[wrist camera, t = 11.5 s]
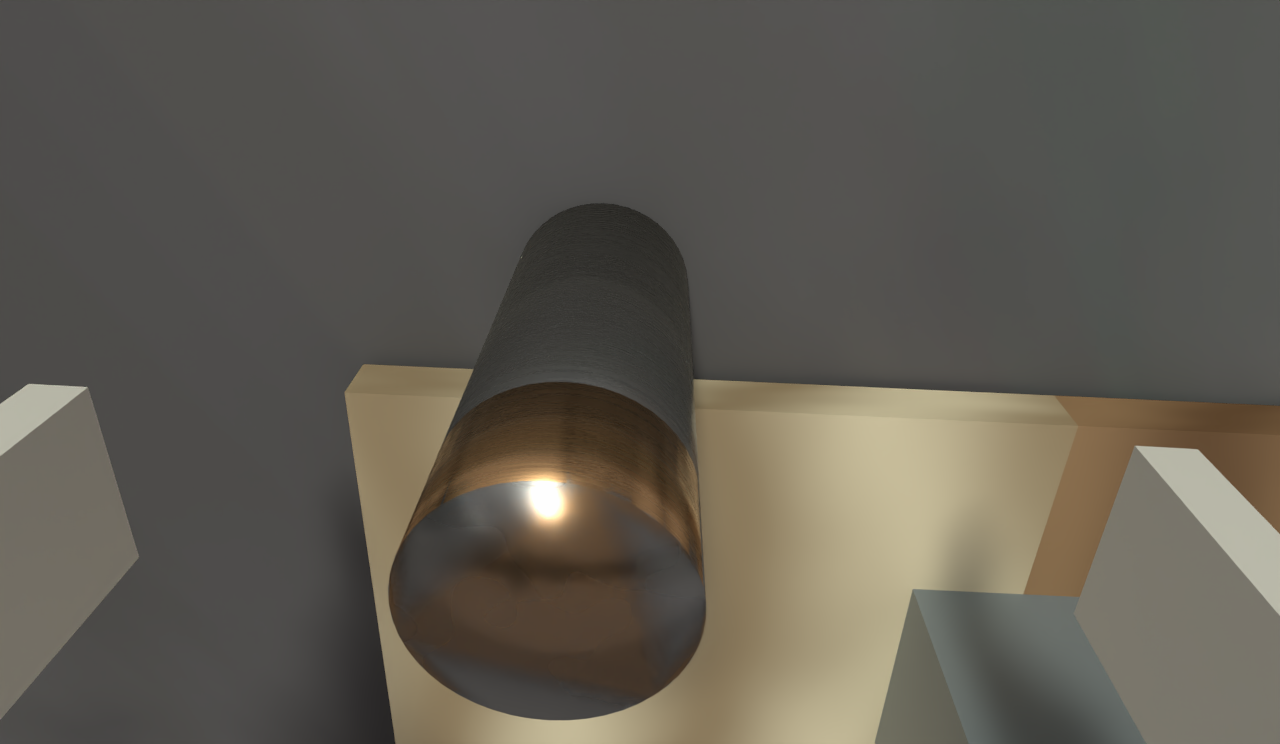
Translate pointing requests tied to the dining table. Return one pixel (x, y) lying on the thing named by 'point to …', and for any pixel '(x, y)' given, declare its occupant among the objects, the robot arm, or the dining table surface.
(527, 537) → the metal cylinder
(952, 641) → the block
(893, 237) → the dining table surface
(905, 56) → the dining table surface
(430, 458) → the board
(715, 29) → the dining table surface
